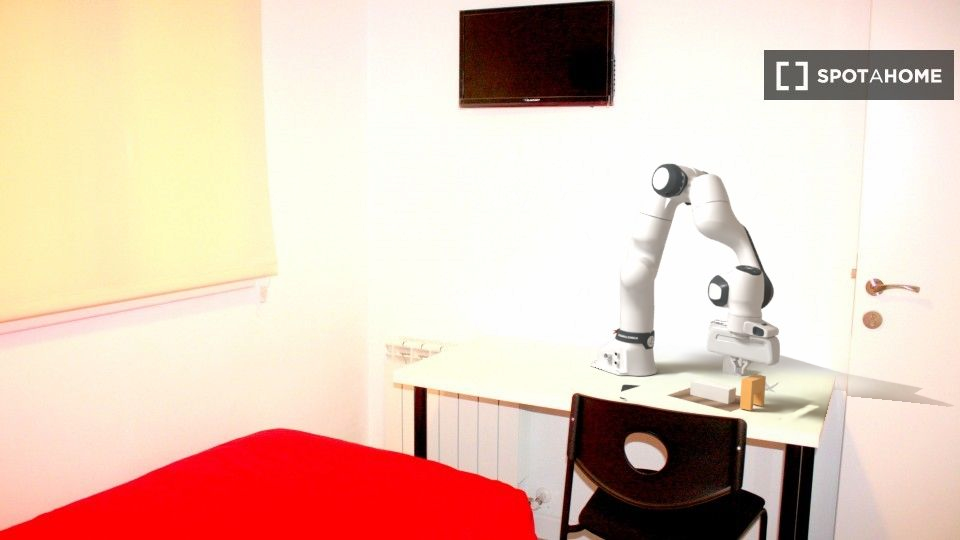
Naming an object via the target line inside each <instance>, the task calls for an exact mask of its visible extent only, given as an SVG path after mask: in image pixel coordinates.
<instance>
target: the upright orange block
mask: <svg viewBox="0 0 960 540" xmlns="http://www.w3.org/2000/svg"><path fill="white" fill-rule="evenodd" d="M766 379H767V376H766V375H761V374H757V373H756V374H753V375H749V376H747V377H744V378H741V385H740V396H741V398H740V408H739V409H742V410H747V411H753V410H754V405H755V406H760V407H763V406H765V399H766V398H765V395H766V390H765V388H766V386H765V382H766ZM766 383H767V382H766Z"/></svg>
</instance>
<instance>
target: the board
mask: <svg viewBox="0 0 960 540" xmlns="http://www.w3.org/2000/svg"><path fill="white" fill-rule="evenodd" d="M690 389H691V387H688V388H685V389H682V390H679V391H676V392H673V393H670V394H669V393H668V394H667V396H668V397H671V398H675V399H676V398H677V399H679V400H683V401H687V402H691V403H695V404H698V405H699V404H700V405H703V406H706V407H710V408H714V409H719V410H723V411H726V412H729V413H731V412H734V411H736V410H739V409H741V408H740V398H741V395H738V394H736V397H735V402H732V403H729V404H726V403H722V402H718V401H714V400H710V399H706V398H702V397H698V396H694V395H690Z"/></svg>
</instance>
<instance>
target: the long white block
mask: <svg viewBox="0 0 960 540" xmlns="http://www.w3.org/2000/svg"><path fill="white" fill-rule="evenodd" d="M690 388H691V389H690V395H694V396H698V397H702V398H706V399H710V400H714V401H718V402H722V403H726V404H729V403H732V402H735V397H736V395H737V387H735V386H730V385H726V384H723V383H722V384H721V383H717V382H714V381H713V382H712V381H709V380H705V379H701V378H700V379H699V378H696V379H694V380H691V381H690Z"/></svg>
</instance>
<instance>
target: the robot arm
mask: <svg viewBox="0 0 960 540" xmlns="http://www.w3.org/2000/svg"><path fill="white" fill-rule="evenodd" d="M683 203H684V204H685V205H686V206H691V211H692V216H693V220H694V221H693V222H694V225H695V227H696V229H697V230H698V232H699V233H700V234H702V235H703V236H704V237H706V238H708V239H710V240H713V241H715V242H719V243H721V244H722V245H725V246H726V247H729V248H730V249H732V251H733V252H734V253H735V254H736V257H737V259H738V262H739V264H740V265H737V266H735V267H734V268H733V269H732V270H730V271H729V272H726V273H723V274H717V275H715V276H713V278H712V279H711V280H710V282H709V284H708V286H707V296H708V299H709V300H710V302H711V303H712V304H713V306H716V307H719V308H725V309H727V308H728V311H727V321H726V320H721V319H720V320H719V319H714V320H712V321H710V323H709V327H708V331H709V333H708V335H707V340H706V349H707V351H708V352H710V353H716V354H720V355H723V356H725V355H728V356H731V362H732V364H733V366H734V373H738V374H742V376H745V375H746V374H747V369H748V368H749V366H750V365H751V364H752V362H754V363H760V364H764V365H767V366H774V365H776V364H777V363H778V362H779V361H780V355H781V346H780V345H781V344H780V343H781V342H780V340H779V337H777V336H778V335H779V333H780V329H779V328H778V327H777V326H774V325H773V324H772V323H769V322H767V321H765V320H764V319H763V312H762V309H765V308H766V307H767V306H768V305H769V304H770V302H771V301H772V300H773V298H774V294H775V291H774V290H775V289H774V285H773V283H772V281H771V279H770V278H769V276H768V274H767V272H766V271H765V268H764V266H763V263H762V261H761V259H760V257H759V254H758V251H757V249H756V246H755V244H754V242H753V239H752V237H751V234H750V232H749V230H748V229H747V228H746V226H745V225H743V224H742V223H741V222H740V221H739V219H738V218H737V217H736V215H735V212H734V211H733V209H732V206H731V205H732V204H731V201H730V197H729V195H728V192H727V189H726V186H725V184H724V182H723V181H722V178H721V177H720V176H718V175H717V174H713V173H709V172H706V171H704V170H700V169H697V168H695V167H691V166H683V165H677V164H675V163H663V164H661V165H659V166H658V167H657V168H656V169H655V171H654V172H653V174H652V177H651V185H650V187H648V190H647V192H646V193H645V196H644V198H643V200H642V203H641V205H640V209H639V212H638V215H637V218H636V222H635V225H634V228H633V231H632V236H631V242H630V246H629V249H628V254H627V258H626V261H625V262H624V263H623V264H622V265H621V267H620V271H619V296H620V300H619V301H620V319H619V327H618V328H617V329H615V330H613V333H612V334H613V335H615V336H614V339H612V340H611V341H609V342H607V344H605V345H603V346H602V347H601V348H600V349H599V351H598V355H597V359H596V360H593V361H592V362H591V363H590V367H593V368H595V367H596V368H595V369H598V368H599V370H601V369H602V371H604V372H607V373H609V374H613V375H617V376H633V377H634V376H635V377H637V376H639V377H641V376H642V377H643V376H651V375H655V374H657V369H656V368H657V367H656V363H655V357H654V356H655V355H654V345H655V329H654V324H655V323H654V321H655V279H656V278H657V275H658V272H659V268H660V266H661V262H662V259H663V254H664V250H665V246H666V243H667V240H668V236H669V234H670V233H669V232H670V230H671V226H672V223H673V220H674V216H675V213H676V210H677V208H678V206H679V205H681V204H683ZM739 358H741V359H743V363H745V364H744V365H743V367H740V366H739V364H738V361H737V360H739Z"/></svg>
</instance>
